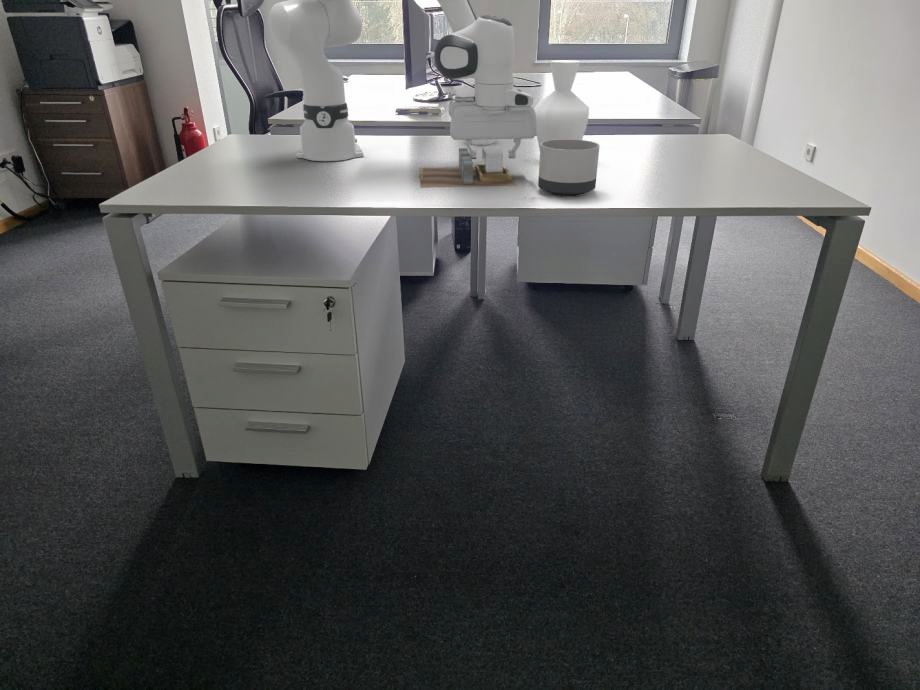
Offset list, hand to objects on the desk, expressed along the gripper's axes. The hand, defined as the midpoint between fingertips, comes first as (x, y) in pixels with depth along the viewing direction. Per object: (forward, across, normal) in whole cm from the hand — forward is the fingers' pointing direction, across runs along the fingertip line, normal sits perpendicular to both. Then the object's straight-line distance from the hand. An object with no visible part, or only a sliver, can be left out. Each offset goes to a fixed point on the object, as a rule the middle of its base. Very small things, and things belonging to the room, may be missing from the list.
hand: (492, 158), depth 147 cm
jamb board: (+5, -6, 0) cm, 8 cm away
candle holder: (+6, +3, +50) cm, 50 cm away
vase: (+6, +21, +20) cm, 29 cm away
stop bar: (+4, 0, 0) cm, 4 cm away
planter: (+6, +16, -12) cm, 20 cm away
